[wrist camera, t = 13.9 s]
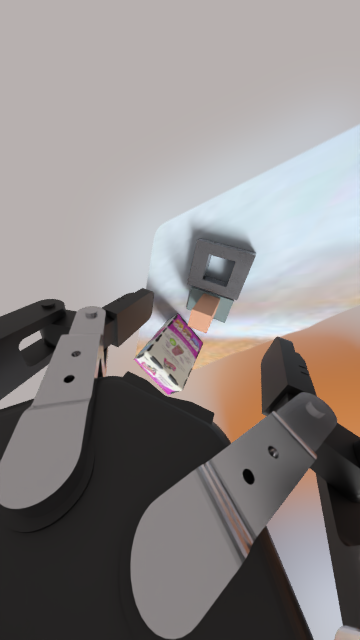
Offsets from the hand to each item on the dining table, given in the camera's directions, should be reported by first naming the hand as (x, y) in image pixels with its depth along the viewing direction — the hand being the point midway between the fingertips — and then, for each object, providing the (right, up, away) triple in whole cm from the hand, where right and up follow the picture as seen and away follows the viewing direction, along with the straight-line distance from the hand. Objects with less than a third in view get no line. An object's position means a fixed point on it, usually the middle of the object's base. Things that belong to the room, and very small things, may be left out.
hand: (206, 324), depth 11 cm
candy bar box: (0, -3, +37) cm, 37 cm away
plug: (+5, +4, +30) cm, 30 cm away
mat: (+5, +4, +30) cm, 31 cm away
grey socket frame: (+7, +11, +25) cm, 28 cm away
